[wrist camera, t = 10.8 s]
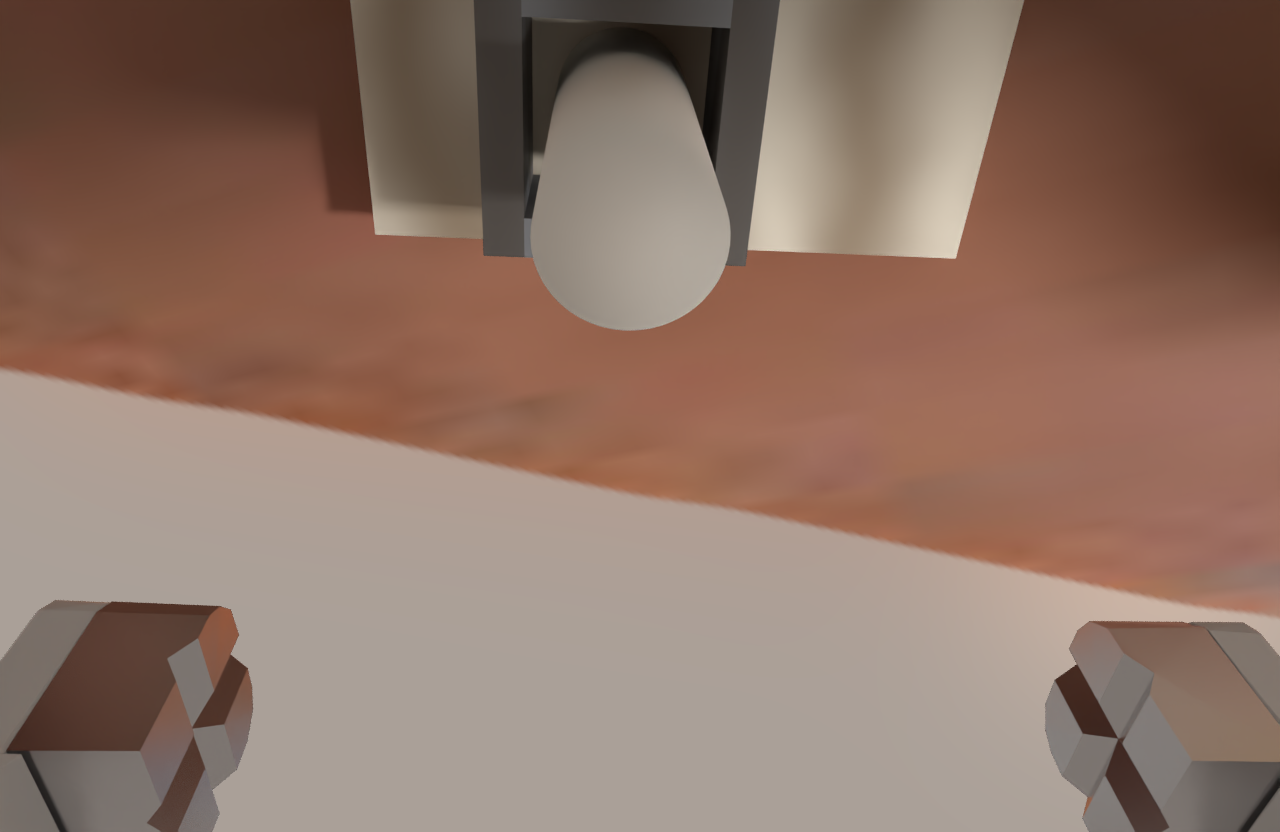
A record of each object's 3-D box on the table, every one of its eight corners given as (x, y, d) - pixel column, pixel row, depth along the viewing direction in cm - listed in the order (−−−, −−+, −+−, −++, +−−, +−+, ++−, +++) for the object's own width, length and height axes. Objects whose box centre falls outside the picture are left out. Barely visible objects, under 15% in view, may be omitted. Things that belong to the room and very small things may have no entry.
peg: (690, 30, 27) (742, 146, 17) (679, 162, 29) (719, 333, 19) (558, 23, 27) (529, 135, 17) (556, 156, 29) (530, 326, 19)
